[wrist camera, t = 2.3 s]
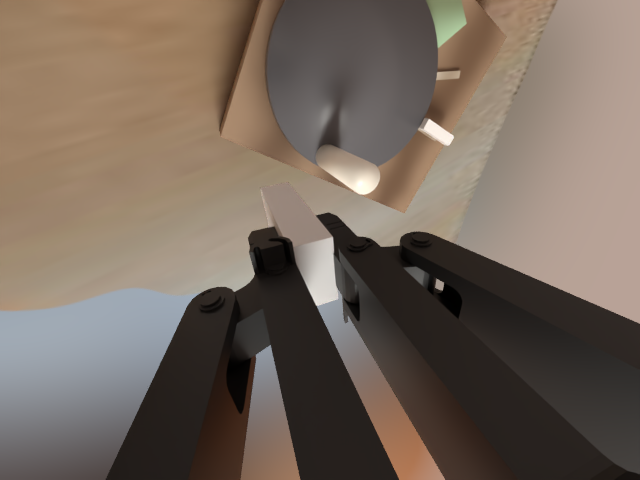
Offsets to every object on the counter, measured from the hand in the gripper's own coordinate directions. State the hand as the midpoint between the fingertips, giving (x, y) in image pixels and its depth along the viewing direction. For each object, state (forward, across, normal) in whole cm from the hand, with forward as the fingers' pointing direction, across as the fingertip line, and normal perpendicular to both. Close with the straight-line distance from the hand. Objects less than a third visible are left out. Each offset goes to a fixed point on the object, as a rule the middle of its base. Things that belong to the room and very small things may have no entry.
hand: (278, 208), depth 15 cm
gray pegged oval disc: (+9, +10, +4) cm, 14 cm away
